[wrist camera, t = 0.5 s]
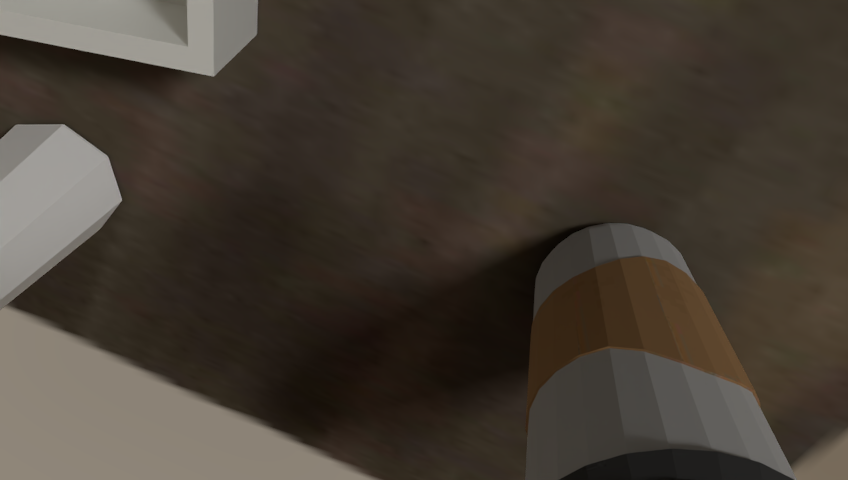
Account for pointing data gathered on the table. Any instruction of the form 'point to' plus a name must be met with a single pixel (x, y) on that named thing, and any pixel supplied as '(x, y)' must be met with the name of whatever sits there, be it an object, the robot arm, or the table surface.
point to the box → (139, 29)
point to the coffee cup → (636, 370)
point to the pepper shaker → (48, 200)
